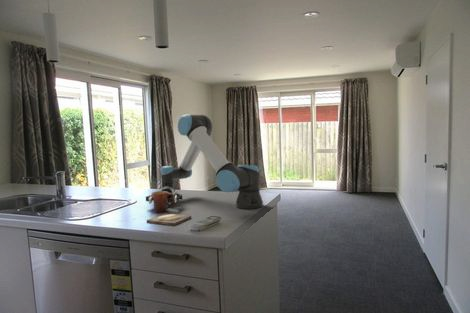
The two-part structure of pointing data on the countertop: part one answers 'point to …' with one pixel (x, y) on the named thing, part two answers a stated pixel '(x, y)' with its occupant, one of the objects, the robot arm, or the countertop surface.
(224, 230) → the countertop surface
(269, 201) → the countertop surface
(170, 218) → the board
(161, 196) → the mug
